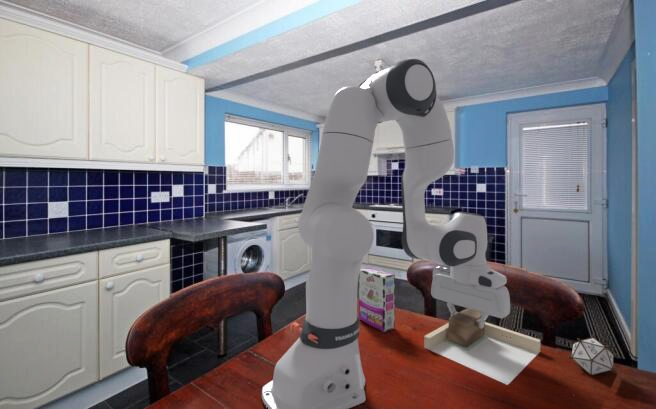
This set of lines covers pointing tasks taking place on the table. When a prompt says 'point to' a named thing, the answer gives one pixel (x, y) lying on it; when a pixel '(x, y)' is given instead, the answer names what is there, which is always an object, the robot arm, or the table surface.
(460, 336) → the walnut block
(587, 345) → the game die
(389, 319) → the candy bar box
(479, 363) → the arena
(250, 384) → the table surface
